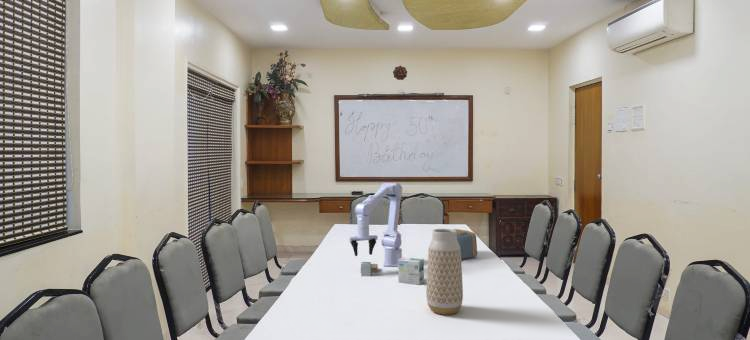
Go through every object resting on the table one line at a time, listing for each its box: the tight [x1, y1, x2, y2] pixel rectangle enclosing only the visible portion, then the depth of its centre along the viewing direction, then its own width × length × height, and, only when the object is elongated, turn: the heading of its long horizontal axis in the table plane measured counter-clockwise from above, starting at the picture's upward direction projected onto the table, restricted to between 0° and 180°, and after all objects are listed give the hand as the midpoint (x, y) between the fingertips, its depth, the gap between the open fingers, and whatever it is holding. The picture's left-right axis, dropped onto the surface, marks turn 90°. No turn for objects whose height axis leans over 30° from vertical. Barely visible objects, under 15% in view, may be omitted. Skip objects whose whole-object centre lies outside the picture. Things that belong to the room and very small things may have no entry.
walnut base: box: [371, 263, 379, 274], centre depth 234 cm, size 8×8×3 cm
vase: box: [425, 228, 464, 316], centre depth 174 cm, size 14×14×31 cm
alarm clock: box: [452, 228, 478, 261], centre depth 263 cm, size 16×16×16 cm
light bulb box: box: [397, 256, 425, 286], centre depth 213 cm, size 11×7×11 cm, turn 65°
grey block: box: [360, 261, 372, 277], centre depth 226 cm, size 4×4×6 cm
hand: (363, 255), depth 227 cm, fingers open, 7 cm apart
